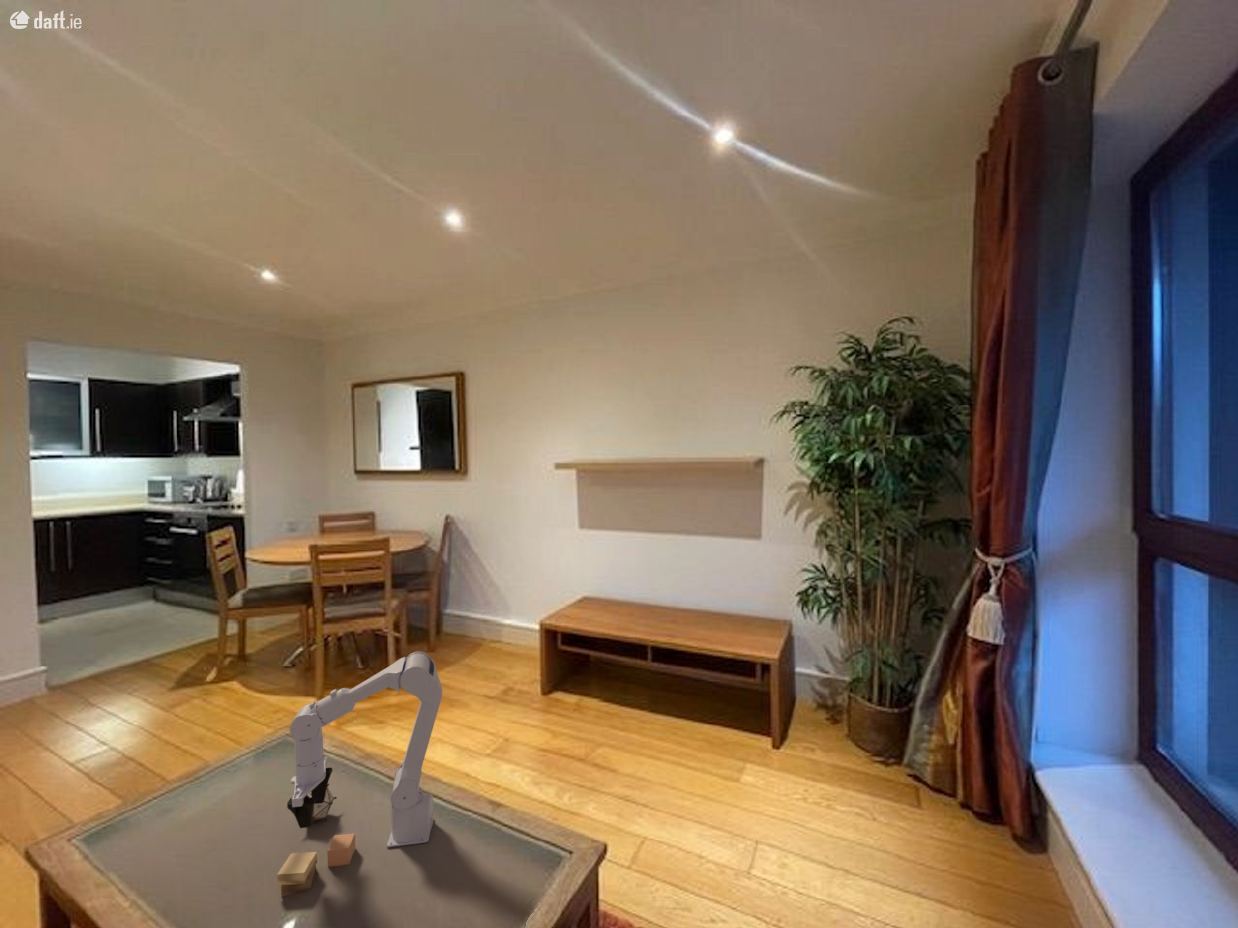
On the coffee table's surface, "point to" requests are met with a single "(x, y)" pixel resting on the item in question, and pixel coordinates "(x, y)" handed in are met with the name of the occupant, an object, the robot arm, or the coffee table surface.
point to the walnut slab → (298, 885)
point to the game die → (322, 806)
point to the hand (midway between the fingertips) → (312, 814)
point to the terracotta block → (341, 850)
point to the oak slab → (297, 868)
